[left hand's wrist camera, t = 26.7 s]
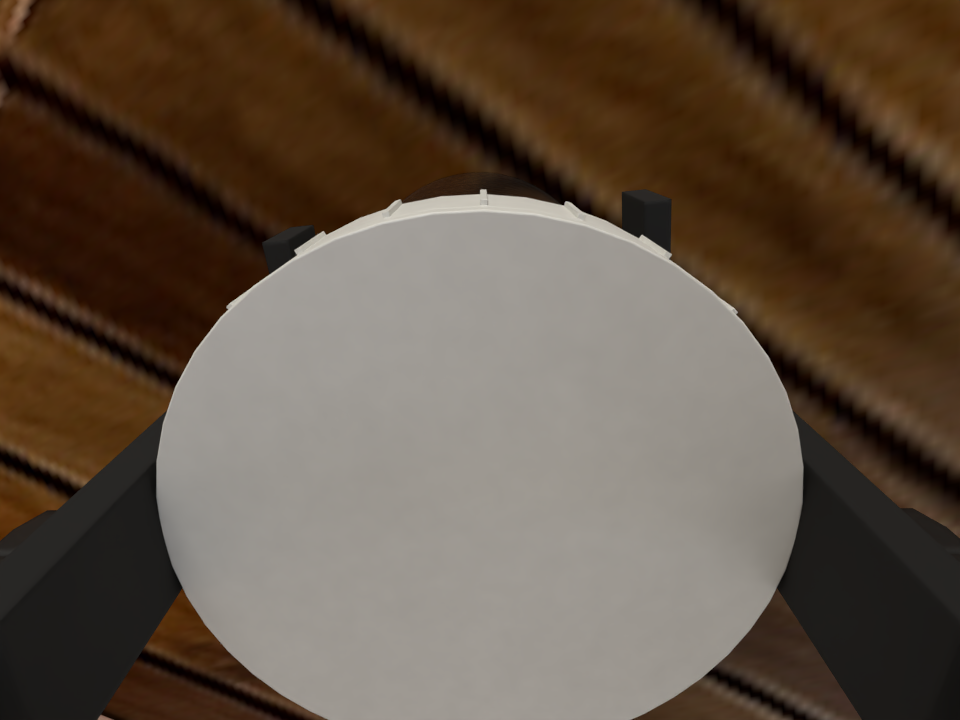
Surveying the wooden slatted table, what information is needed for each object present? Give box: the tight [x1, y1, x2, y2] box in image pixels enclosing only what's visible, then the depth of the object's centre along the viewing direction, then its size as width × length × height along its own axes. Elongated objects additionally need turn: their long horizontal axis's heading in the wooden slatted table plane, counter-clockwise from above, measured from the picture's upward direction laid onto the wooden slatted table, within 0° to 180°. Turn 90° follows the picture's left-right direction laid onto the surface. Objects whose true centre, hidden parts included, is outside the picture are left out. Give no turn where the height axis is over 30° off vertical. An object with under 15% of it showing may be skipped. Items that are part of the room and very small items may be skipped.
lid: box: [156, 189, 803, 720], centre depth 11 cm, size 11×11×2 cm
